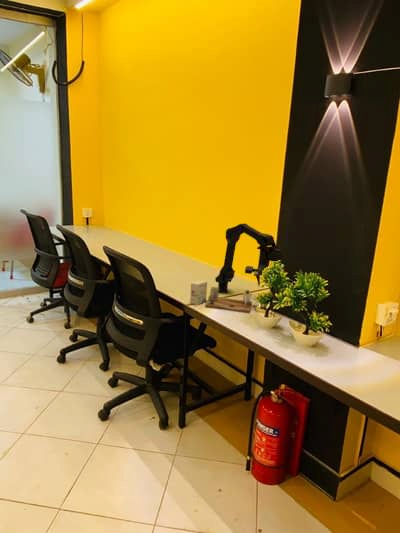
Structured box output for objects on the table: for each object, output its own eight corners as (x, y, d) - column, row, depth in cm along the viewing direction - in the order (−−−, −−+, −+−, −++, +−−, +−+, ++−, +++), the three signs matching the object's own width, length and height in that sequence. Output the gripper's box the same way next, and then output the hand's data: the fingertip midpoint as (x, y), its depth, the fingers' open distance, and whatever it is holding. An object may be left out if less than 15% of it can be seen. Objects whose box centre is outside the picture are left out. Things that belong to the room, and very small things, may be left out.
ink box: (199, 299, 221) (200, 279, 218) (206, 301, 218) (207, 281, 215) (189, 303, 214) (190, 282, 211) (196, 305, 211) (198, 284, 208)
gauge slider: (243, 301, 218) (244, 289, 216) (250, 302, 217) (251, 290, 215) (241, 306, 209) (242, 294, 207) (248, 307, 208) (250, 295, 206)
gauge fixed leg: (211, 296, 221) (212, 286, 220) (218, 297, 220) (219, 287, 219) (208, 302, 212) (208, 291, 211) (215, 303, 211) (216, 292, 210)
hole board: (209, 299, 222) (209, 294, 221) (251, 305, 218) (252, 300, 217) (204, 307, 210) (205, 302, 209) (249, 313, 206) (250, 308, 205)
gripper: (245, 260, 202) (242, 289, 206) (282, 264, 198) (278, 293, 202) (247, 255, 212) (244, 283, 216) (282, 259, 209) (278, 287, 213)
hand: (261, 286), depth 212 cm, fingers closed
